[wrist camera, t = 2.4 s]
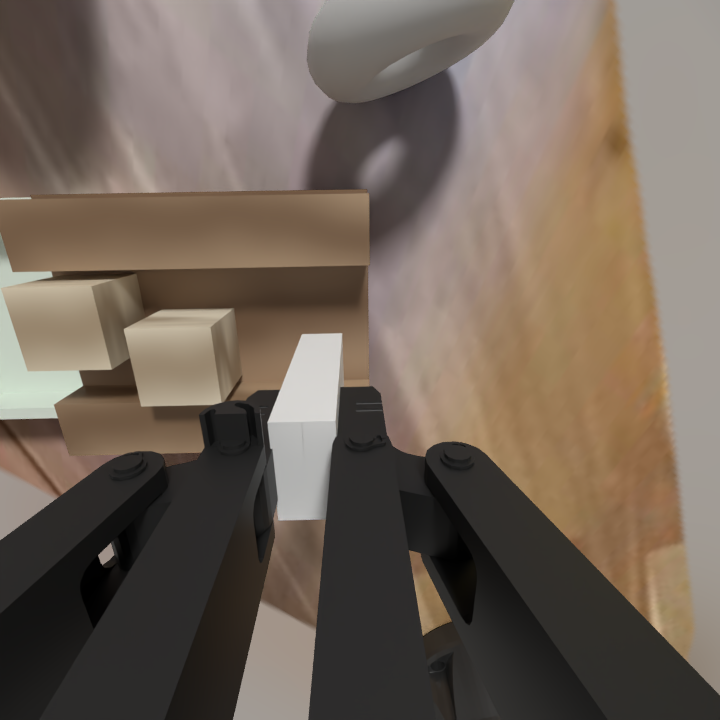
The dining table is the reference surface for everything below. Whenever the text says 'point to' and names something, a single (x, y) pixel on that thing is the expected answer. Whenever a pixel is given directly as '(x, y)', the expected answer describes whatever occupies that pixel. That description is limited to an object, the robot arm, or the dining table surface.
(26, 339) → the tan wooden cube
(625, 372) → the dining table surface
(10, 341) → the tray
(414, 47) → the donut
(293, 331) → the slot board
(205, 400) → the beige wooden cube
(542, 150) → the dining table surface
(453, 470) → the robot arm
